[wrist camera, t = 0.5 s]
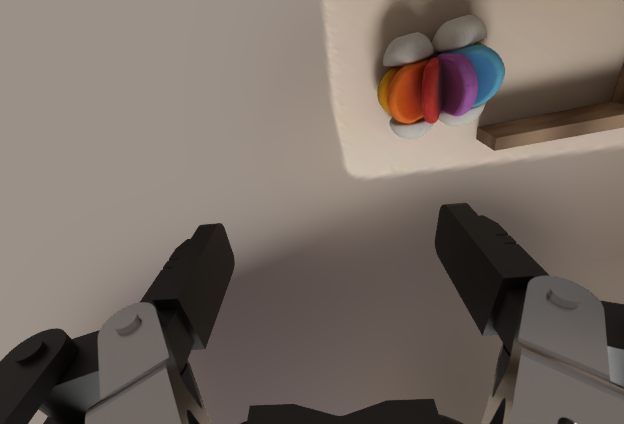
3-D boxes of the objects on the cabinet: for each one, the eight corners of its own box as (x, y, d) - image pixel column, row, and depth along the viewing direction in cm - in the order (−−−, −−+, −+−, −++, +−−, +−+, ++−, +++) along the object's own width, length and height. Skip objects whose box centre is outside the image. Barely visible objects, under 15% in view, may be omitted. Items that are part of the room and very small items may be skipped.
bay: (691, -83, 20) (756, -104, 17) (620, 111, 27) (658, 121, 24) (493, -30, 21) (521, -41, 18) (476, 139, 28) (494, 150, 25)
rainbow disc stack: (367, 45, 24) (382, 48, 18) (483, 8, 23) (543, -4, 17) (381, 136, 29) (397, 163, 23) (480, 110, 27) (526, 131, 21)
